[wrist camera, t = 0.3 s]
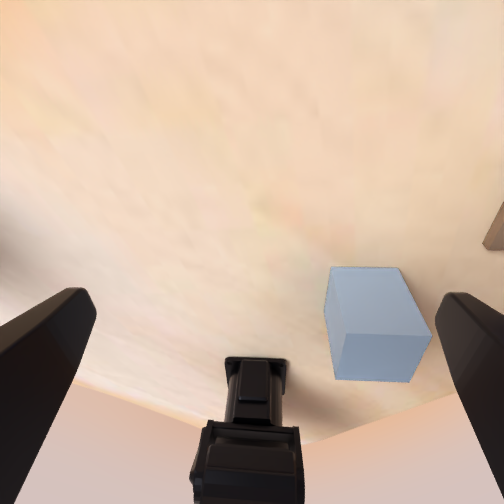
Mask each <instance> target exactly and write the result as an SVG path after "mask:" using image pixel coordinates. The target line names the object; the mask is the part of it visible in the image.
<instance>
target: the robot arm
mask: <svg viewBox="0 0 504 504" xmlns="http://www.w3.org/2000/svg"><path fill="white" fill-rule="evenodd" d="M96 315H97V312H96V308H95V306H94V304H93V302H92V300H91V298H90V296H89V294H88V292H87V290H86V289H84V288H79V287H70V288H66V289H64V290H62V291H61V292H59V293H57V294H56V295H54V296H52V297H50V298H49V299H47V300H45V301H44V302H42V303H40V304H38V305H37V306H35V307H33V308H31V309H30V310H28V311H26V312H25V313H23V314H21V315H19V316H18V317H16V318H14V319H12V320H11V321H9V322H7V323H6V324H4V325H2V326H0V504H14V502H15V500H16V498H17V496H18V494H19V492H20V490H21V488H22V486H23V484H24V481H25V479H26V477H27V475H28V473H29V471H30V469H31V467H32V465H33V463H34V461H35V458H36V456H37V454H38V452H39V450H40V448H41V446H42V444H43V442H44V440H45V438H46V435H47V433H48V431H49V429H50V427H51V425H52V423H53V421H54V419H55V417H56V414H57V412H58V410H59V408H60V406H61V404H62V402H63V400H64V398H65V396H66V393H67V391H68V389H69V387H70V385H71V383H72V381H73V379H74V376H75V374H76V372H77V369H78V367H79V364H80V362H81V359H82V356H83V353H84V351H85V348H86V345H87V342H88V339H89V337H90V334H91V331H92V328H93V326H94V323H95V320H96ZM435 325H436V329H437V332H438V335H439V338H440V341H441V345H442V348H443V351H444V354H445V357H446V361H447V364H448V367H449V370H450V373H451V376H452V379H453V382H454V385H455V387H456V390H457V392H458V395H459V397H460V399H461V402H462V404H463V406H464V409H465V411H466V413H467V415H468V418H469V420H470V422H471V424H472V427H473V429H474V432H475V434H476V436H477V438H478V441H479V443H480V445H481V448H482V450H483V452H484V454H485V457H486V459H487V461H488V463H489V466H490V468H491V471H492V473H493V475H494V477H495V480H496V482H497V484H498V487H499V489H500V491H501V493H502V496H503V498H504V315H503V314H501V313H499V312H498V311H496V310H494V309H493V308H491V307H490V306H488V305H486V304H485V303H483V302H481V301H480V300H478V299H477V298H475V297H473V296H472V295H470V294H468V293H465V292H449V293H447V294H446V295H445V296H444V298H443V300H442V302H441V305H440V307H439V309H438V311H437V314H436V316H435ZM225 370H226V377H227V383H228V396H227V404H226V411H225V419H224V422H218V421H214V420H208V422H207V426H206V427H204V428H202V433H201V439H200V443H199V447H198V451H197V454H196V457H195V460H194V462H193V465H192V468H191V471H190V477H189V480H190V482H191V483H192V485H193V492H194V504H304V502H305V482H304V468H303V460H302V451H301V442H300V433H299V427H295V426H293V427H282V395H284V394H285V377H286V361H285V360H283V359H262V358H235V357H227V358H226V359H225Z"/></svg>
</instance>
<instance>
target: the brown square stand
mask: <svg viewBox="0 0 504 504" xmlns="http://www.w3.org/2000/svg"><path fill="white" fill-rule="evenodd" d="M482 244H483V245H484V246H485V247H486V248H487V249H488V250H504V202H503V204H502V206H501V208H500V210H499V212H498V214H497V216H496V218H495V220H494V222H493V224H492V226H491V228H490V230H489V232H488V234H487V236H486V238H485V240H484V242H483V243H482Z"/></svg>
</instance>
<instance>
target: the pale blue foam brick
mask: <svg viewBox="0 0 504 504" xmlns="http://www.w3.org/2000/svg"><path fill="white" fill-rule="evenodd" d="M324 315H325V321H326V327H327V333H328V338H329V344H330V350H331V356H332V362H333V368H334V374H335V380H359V381H383V382H408V383H409V382H410V380H411V378H412V376H413V374H414V372H415V370H416V368H417V366H418V364H419V362H420V360H421V358H422V356H423V354H424V352H425V350H426V348H427V346H428V344H429V342H430V340H431V338H432V334H431V332H430V330H429V328H428V326H427V324H426V322H425V320H424V318H423V316H422V314H421V312H420V311H419V309H418V307H417V305H416V303H415V301H414V299H413V297H412V295H411V293H410V291H409V289H408V287H407V285H406V283H405V281H404V279H403V277H402V275H401V273H400V271H399V269H398V268H369V267H331V270H330V276H329V283H328V289H327V295H326V302H325V308H324Z"/></svg>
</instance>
